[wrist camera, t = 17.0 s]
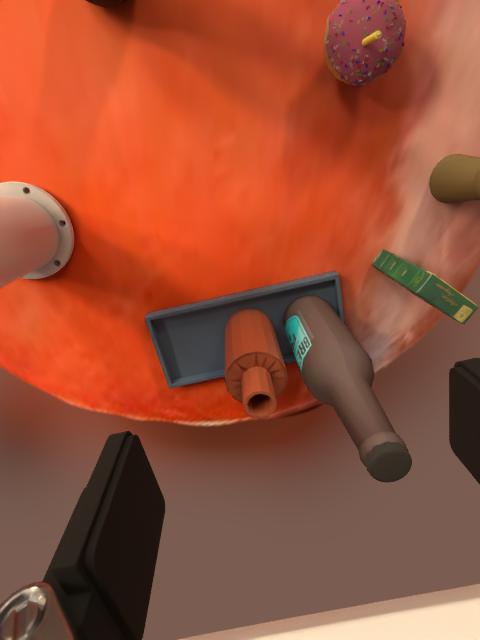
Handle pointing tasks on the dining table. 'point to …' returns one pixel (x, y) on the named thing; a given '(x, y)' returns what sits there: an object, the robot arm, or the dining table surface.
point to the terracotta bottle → (253, 362)
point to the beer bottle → (344, 383)
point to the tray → (210, 321)
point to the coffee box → (426, 286)
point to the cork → (456, 179)
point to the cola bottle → (107, 2)
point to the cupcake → (363, 39)
